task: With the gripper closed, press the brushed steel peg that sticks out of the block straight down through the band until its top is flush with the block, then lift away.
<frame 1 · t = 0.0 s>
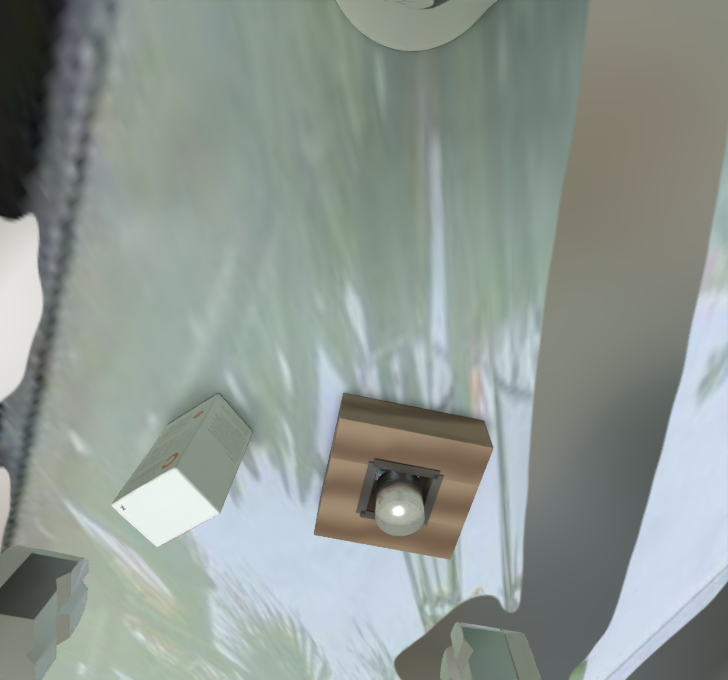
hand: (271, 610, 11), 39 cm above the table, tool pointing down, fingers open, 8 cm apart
peg: (399, 502, 51), point 6 cm above the table, slide at 3.5 cm
socket block: (397, 464, 57), on the table
small box: (211, 427, 56), on the table
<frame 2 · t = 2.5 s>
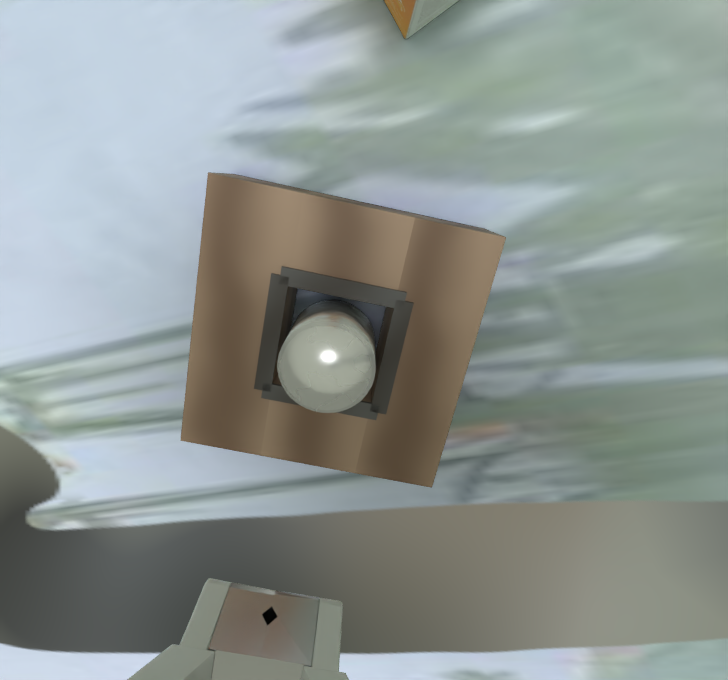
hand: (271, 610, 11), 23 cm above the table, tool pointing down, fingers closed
peg: (329, 353, 27), point 6 cm above the table, slide at 3.5 cm
socket block: (337, 322, 33), on the table
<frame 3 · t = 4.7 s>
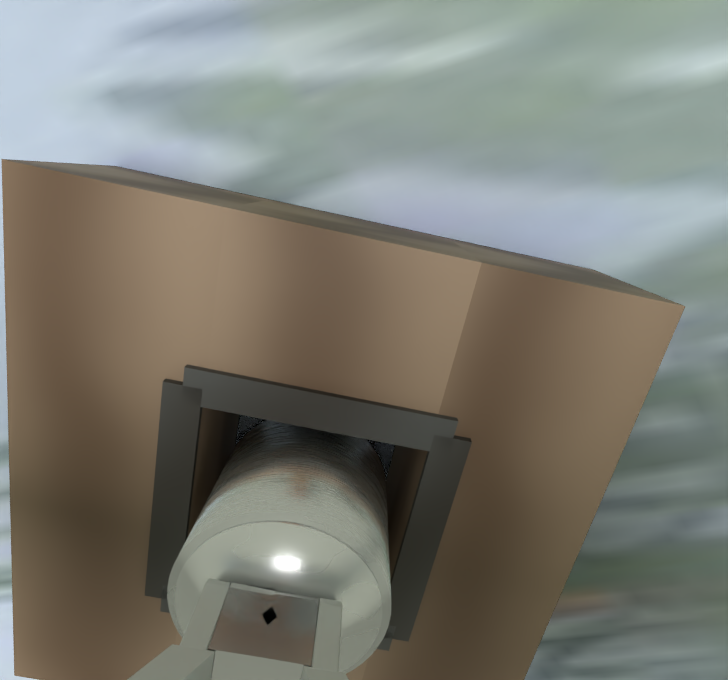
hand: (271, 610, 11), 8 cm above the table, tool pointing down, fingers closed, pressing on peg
peg: (294, 537, 13), point 6 cm above the table, slide at 2.9 cm, touching gripper
socket block: (317, 431, 18), on the table
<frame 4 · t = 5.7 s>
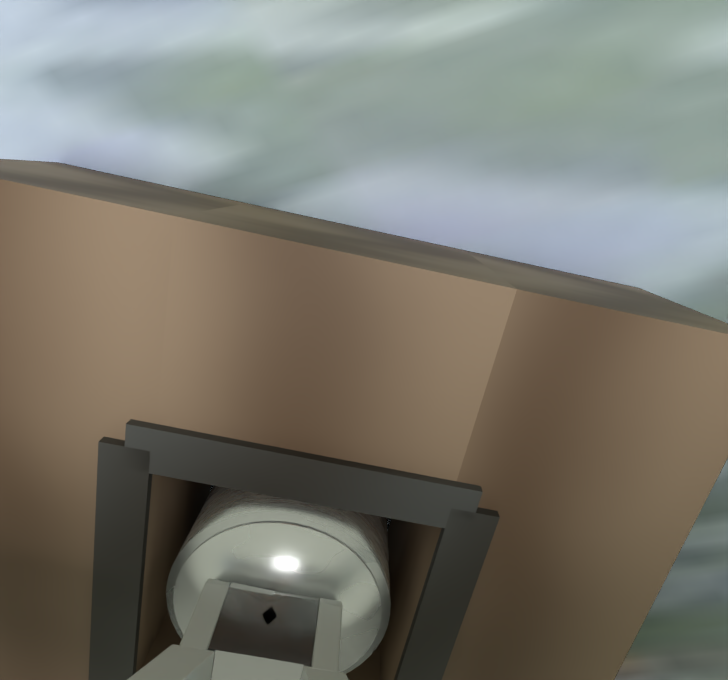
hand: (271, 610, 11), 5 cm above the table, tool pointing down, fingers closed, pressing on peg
peg: (293, 537, 13), point 3 cm above the table, slide at 0.0 cm, touching gripper
socket block: (307, 476, 15), on the table
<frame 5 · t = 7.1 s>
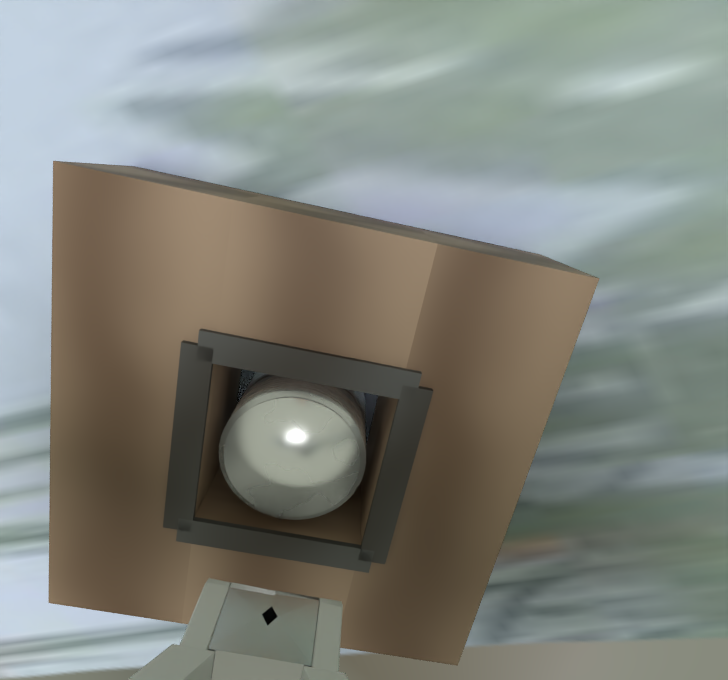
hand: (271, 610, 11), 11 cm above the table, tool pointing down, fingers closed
peg: (300, 427, 18), point 3 cm above the table, slide at -0.1 cm
socket block: (307, 396, 21), on the table
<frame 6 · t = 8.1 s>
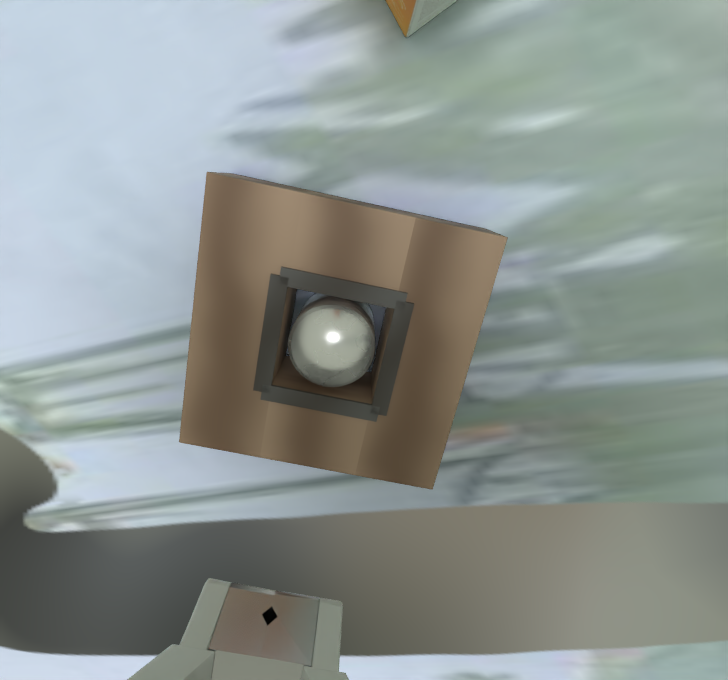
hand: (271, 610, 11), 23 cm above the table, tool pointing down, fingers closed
peg: (334, 335, 30), point 3 cm above the table, slide at -0.1 cm
socket block: (336, 323, 32), on the table
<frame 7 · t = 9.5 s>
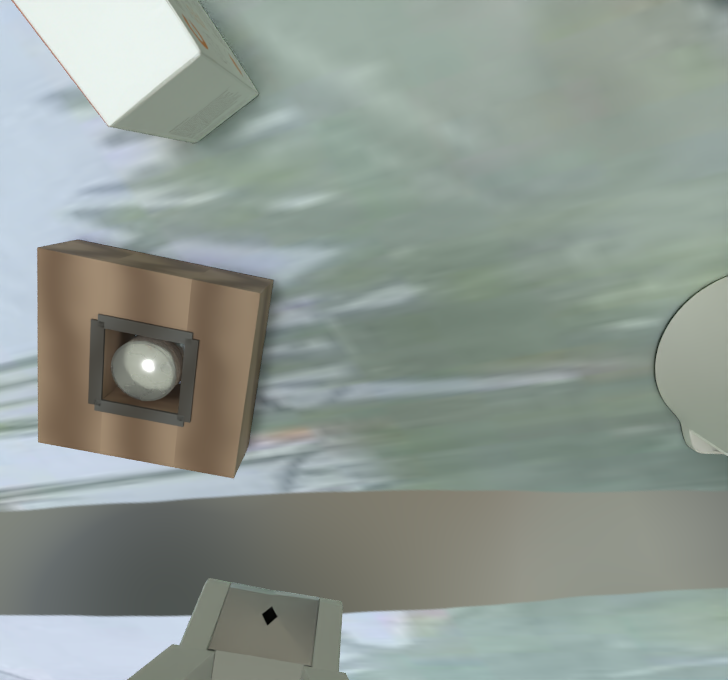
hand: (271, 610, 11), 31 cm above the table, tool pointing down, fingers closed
peg: (155, 361, 39), point 3 cm above the table, slide at -0.1 cm
socket block: (168, 350, 42), on the table
small box: (194, 72, 35), on the table
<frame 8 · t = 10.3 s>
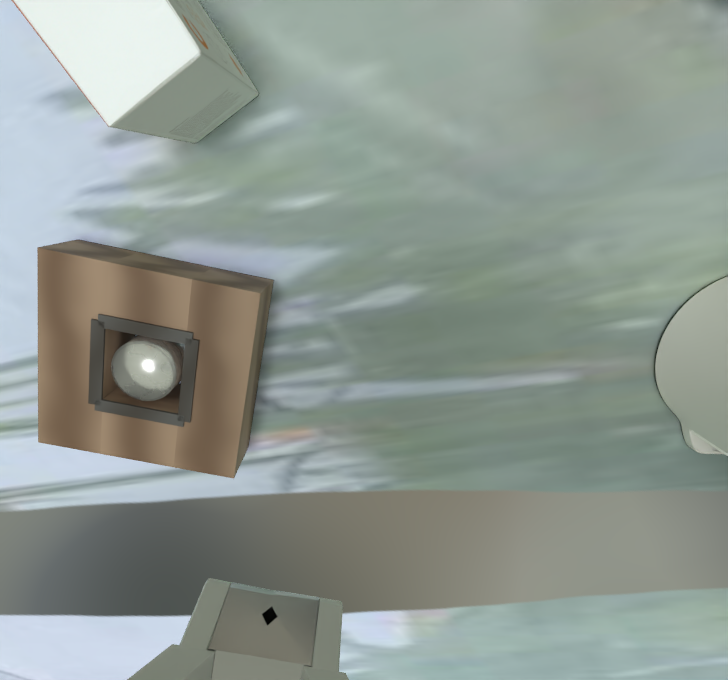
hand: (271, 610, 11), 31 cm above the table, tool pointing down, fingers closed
peg: (155, 361, 39), point 3 cm above the table, slide at -0.1 cm
socket block: (169, 350, 42), on the table
small box: (194, 72, 35), on the table
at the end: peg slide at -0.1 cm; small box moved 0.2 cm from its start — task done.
